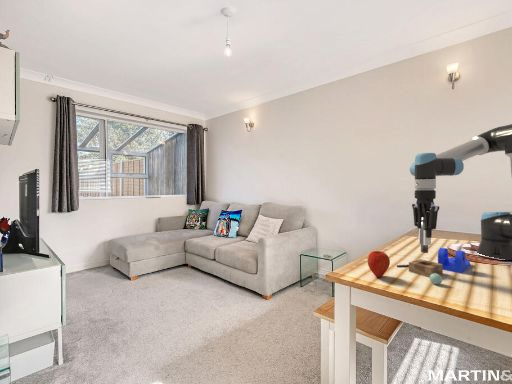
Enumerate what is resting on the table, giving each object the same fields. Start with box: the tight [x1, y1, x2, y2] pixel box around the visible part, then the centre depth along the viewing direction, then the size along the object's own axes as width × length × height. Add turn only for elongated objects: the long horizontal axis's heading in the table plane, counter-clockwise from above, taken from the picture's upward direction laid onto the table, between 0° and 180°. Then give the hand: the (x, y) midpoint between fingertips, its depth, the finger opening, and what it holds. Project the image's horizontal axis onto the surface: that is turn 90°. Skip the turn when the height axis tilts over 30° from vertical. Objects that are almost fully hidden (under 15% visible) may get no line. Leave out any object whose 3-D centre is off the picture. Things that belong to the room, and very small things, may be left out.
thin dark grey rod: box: [396, 264, 409, 268], centre depth 118 cm, size 14×1×1 cm, turn 94°
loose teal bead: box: [429, 273, 443, 285], centre depth 97 cm, size 4×4×4 cm
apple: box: [367, 250, 391, 278], centre depth 106 cm, size 9×8×11 cm
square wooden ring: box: [408, 258, 444, 278], centre depth 109 cm, size 9×9×4 cm
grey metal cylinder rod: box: [420, 217, 429, 254], centre depth 109 cm, size 3×3×15 cm
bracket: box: [437, 247, 471, 274], centre depth 116 cm, size 18×8×9 cm, turn 128°
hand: (424, 244), depth 109 cm, fingers closed on grey metal cylinder rod, 2 cm apart
